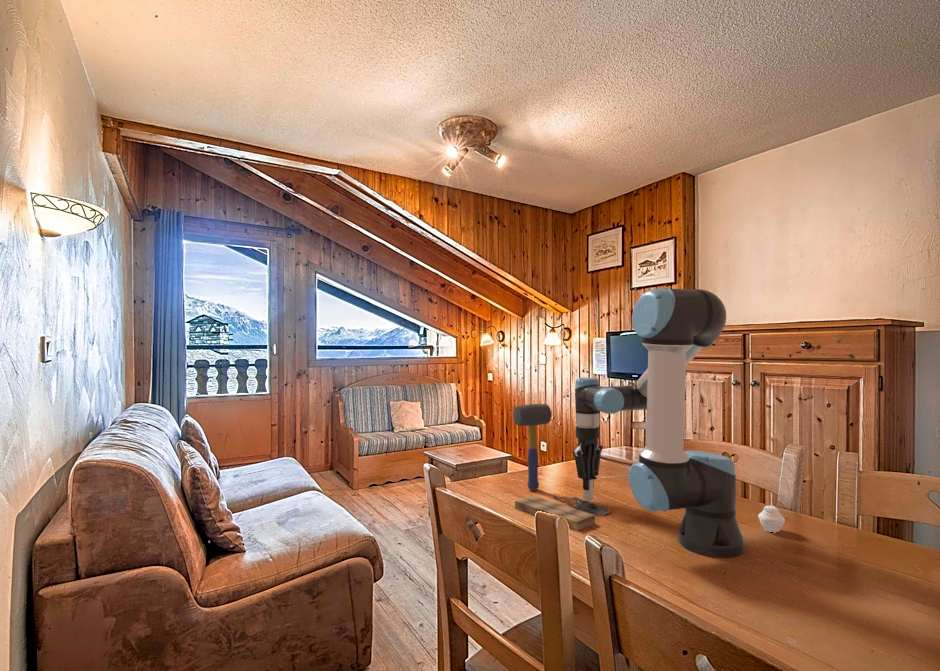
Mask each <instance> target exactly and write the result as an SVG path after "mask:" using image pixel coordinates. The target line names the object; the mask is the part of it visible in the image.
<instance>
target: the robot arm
mask: <svg viewBox="0 0 940 671" xmlns="http://www.w3.org/2000/svg"><path fill="white" fill-rule="evenodd" d="M631 315H632V316H631V318H632V319H631V322H632V323H631V324H632V327H633V328H634V333H635V334H636V335H637V336H639V337H640V338H641V344H642V345H643V346H644V348H646V350H647V351H648V352H647V368H646V370H645V371H644V372H643V373H642V375H641V376H640V377H639V379H638V380H636V381H635V383H634V384H632V385H621V386H619V385H618V386H617V385H616V386H613V385H612V386H602V385H600V381H599V378H597V377H577V378H576V379H575V385H574V386H575V388H574V403H575V404H574V405H575V406H574V407H575V425H576V426H575V438H576V439H577V447H576V449H572V450H571V451H572V454H573V456H574V461H575V468H576V473H577V477H578V479H580V480H582V489H583V500H585V501H589V502H592V501H594V488H595V486H594V485H595V484H594V483H595V482H594V481H595V480H597V478H598V476H599V472H600V464H601V455H602V452H603V448H604V446H603V445H602V444H599V441H598V440H599V439H600V436H601V434H600V433H601V431H600V430H601V428H600V425H601V421H600V419H601V417H600V412H601V413H603V414H611V415H615V414H617V413H618V412H625V411H641V410H642V411H646V424H645V425H646V428H645V429H646V430H645V446H644V447H643V448H642V449H640V450H639V452H638V453H639V454H638V461H637V462H635V463H633V464H631V465H630V467H629V470H628V476H627V477H628V484H629V487H630V491H631V493H632V494H633V496H634V499H635V500H636V501H637V503H638V504H639V505H640V506H641V507H642V508H643V509H645V510H647V511H649V512H668V511H671V510H679V509H684V512H683V513H684V514H683V516H682V519H681V522H680V525H679V528H678V531H677V532H678V533H677V539H678V540H677V541H678V542H679V544H680V545H681V546H683V547H684V548H685V549H687V550H689V551H691V552H694V553H697V554H699V555H700V554H701V555H705V556H710V557H718V558H731V557H737V556H740V555H742V554H743V553H745V539H744V536H743V534H742V532H741V529H740V526H739V523H738V520H737V517H736V516H737V515H736V511H737V509H736V508H737V507H736V506H737V504H736V502H737V501H736V493H737V492H736V490H737V489H736V487H737V486H736V481H737V480H736V479H737V474H736V469H735V467H736V466H735V462H734V460H733V459H732V458H730V457H728V456H725V455H722V454H719V453H714V452H709V451H708V452H707V451H701V450H690V449H689V450H686V451H685V450H684V438H685V437H684V436H685V435H684V433H685V404H686V402H685V401H686V374H687V373H686V372H687V371H686V367H687V366H688V365H689V364H690V363H691V361H692V360H693V359H694V358H695V357H696V356H697V354H699V352H700V351H701V350H702V349H703V348H704V349H705V348H709V347H711V345H713V343H714V342H716V341H717V339H718V338H719V337H720V336H721V334H722V332H724V331H723V330H724V328H725V326H726V323H727V310H726V306H725V304H724V302H723V300H721V299H720V297H718V295H716V294H715V293H714V292H711V291H709V290H706V289H700V288H699V289H698V288H697V289H695V288H694V289H688V288H687V289H684V288H682V289H681V288H664V287H663V288H657V289H655V288H654V289H650V290H647V291H645V292H644V293H643V294H641V295H640V297H639V298H638V299H637V301H636V302H635V305H634V308H633V311H632V314H631Z"/></svg>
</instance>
